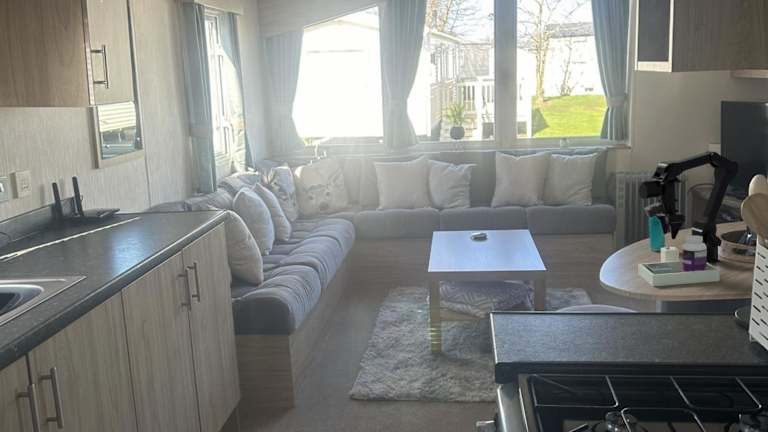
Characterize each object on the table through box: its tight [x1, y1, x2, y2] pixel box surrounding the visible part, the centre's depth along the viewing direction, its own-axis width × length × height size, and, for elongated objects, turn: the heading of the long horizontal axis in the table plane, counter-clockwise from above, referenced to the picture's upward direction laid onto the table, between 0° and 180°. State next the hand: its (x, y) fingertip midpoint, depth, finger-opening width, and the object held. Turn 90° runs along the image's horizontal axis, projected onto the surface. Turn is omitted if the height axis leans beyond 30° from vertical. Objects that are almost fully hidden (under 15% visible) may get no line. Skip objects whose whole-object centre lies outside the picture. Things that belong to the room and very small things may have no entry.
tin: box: [646, 263, 672, 275], centre depth 271 cm, size 7×7×5 cm
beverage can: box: [648, 216, 666, 252], centre depth 309 cm, size 6×6×15 cm
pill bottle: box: [681, 235, 708, 272], centre depth 269 cm, size 8×8×14 cm
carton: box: [660, 246, 680, 262], centre depth 285 cm, size 5×5×8 cm
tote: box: [637, 260, 720, 287], centre depth 270 cm, size 23×16×4 cm
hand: (669, 236), depth 283 cm, fingers open, 9 cm apart
